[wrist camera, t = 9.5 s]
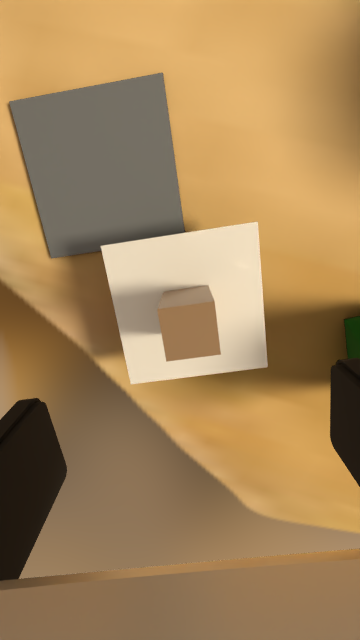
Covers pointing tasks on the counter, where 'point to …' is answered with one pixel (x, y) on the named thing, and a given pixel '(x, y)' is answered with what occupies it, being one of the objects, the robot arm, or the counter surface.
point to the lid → (189, 302)
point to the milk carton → (353, 337)
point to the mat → (101, 164)
